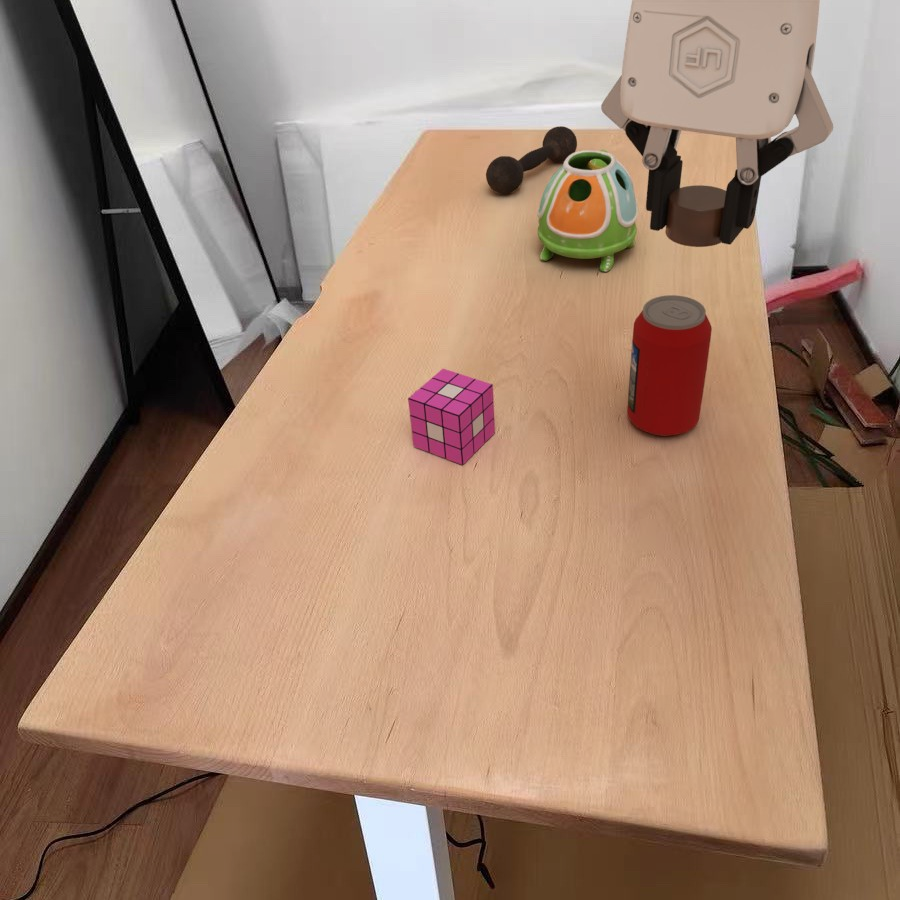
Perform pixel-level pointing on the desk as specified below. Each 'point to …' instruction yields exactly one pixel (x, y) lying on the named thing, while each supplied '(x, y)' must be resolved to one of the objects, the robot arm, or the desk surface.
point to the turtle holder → (588, 209)
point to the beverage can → (668, 365)
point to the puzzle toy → (452, 415)
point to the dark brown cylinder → (695, 215)
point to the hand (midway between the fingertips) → (697, 226)
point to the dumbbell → (530, 160)
